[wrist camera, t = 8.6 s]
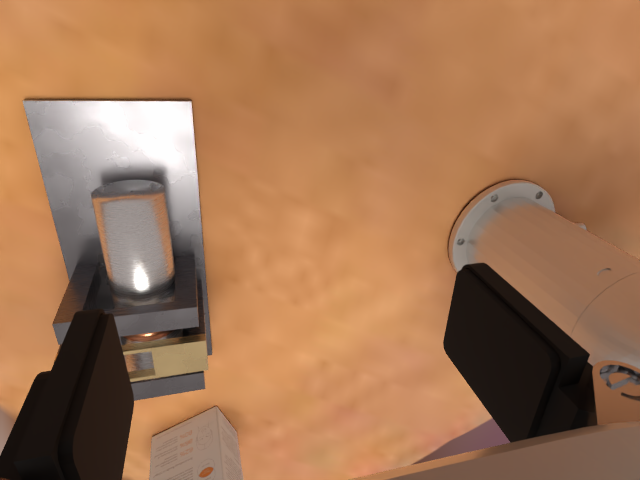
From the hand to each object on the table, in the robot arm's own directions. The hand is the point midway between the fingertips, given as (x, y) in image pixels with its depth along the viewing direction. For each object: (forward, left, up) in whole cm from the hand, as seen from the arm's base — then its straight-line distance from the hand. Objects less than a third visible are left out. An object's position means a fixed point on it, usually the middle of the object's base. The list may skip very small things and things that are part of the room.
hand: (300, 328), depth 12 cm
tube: (+8, +14, -25) cm, 30 cm away
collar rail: (+8, +11, -26) cm, 30 cm away
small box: (+5, +36, -26) cm, 45 cm away
